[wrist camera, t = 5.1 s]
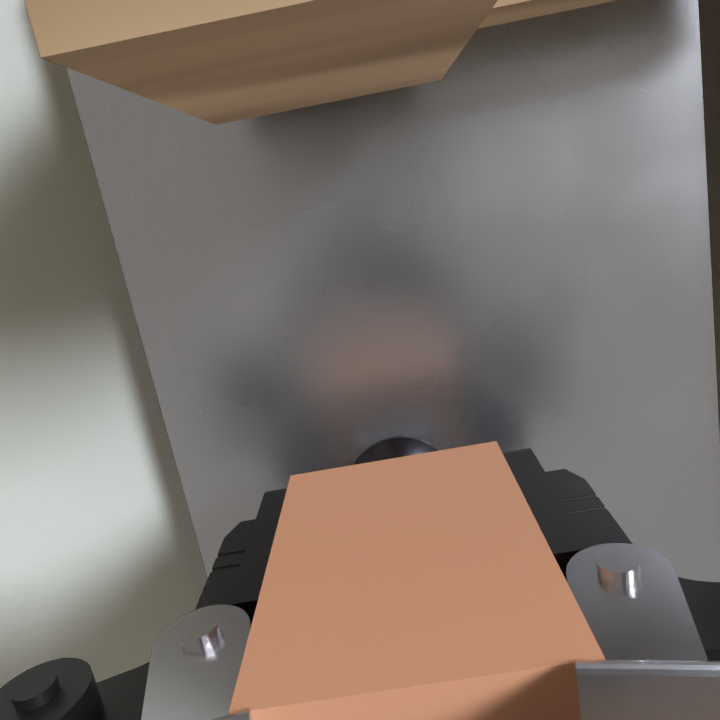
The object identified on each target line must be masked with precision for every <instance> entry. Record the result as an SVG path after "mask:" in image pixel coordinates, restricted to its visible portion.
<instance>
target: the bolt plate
mask: <svg viewBox="0 0 720 720" xmlns="http://www.w3.org/2000/svg"><path fill="white" fill-rule="evenodd" d="M66 70H67V73H68V77H69V81H70V84H71V88H72V91H73V95H74V99H75V102H76V106H77V109H78V113H79V117H80V120H81V124H82V127H83V131H84V135H85V138H86V142H87V145H88V149H89V153H90V156H91V160H92V163H93V167H94V171H95V174H96V178H97V181H98V185H99V189H100V192H101V196H102V199H103V203H104V207H105V210H106V214H107V217H108V221H109V225H110V228H111V232H112V235H113V239H114V243H115V246H116V250H117V253H118V257H119V261H120V264H121V268H122V271H123V275H124V279H125V282H126V286H127V289H128V293H129V297H130V300H131V304H132V307H133V311H134V315H135V318H136V322H137V325H138V329H139V333H140V336H141V340H142V343H143V347H144V351H145V354H146V358H147V361H148V365H149V369H150V372H151V376H152V379H153V383H154V387H155V390H156V394H157V397H158V401H159V405H160V408H161V412H162V415H163V419H164V423H165V426H166V430H167V433H168V437H169V441H170V444H171V448H172V451H173V455H174V459H175V462H176V466H177V469H178V473H179V477H180V480H181V484H182V487H183V491H184V495H185V498H186V502H187V505H188V509H189V513H190V516H191V520H192V523H193V527H194V531H195V534H196V538H197V541H198V545H199V549H200V552H201V556H202V559H203V563H204V567H205V570H206V574H207V577H209V574H210V572H212V567H213V564H214V562H215V559H216V558H218V555H217V554H218V552H219V549H220V547H221V544H222V542H223V539H224V537H225V536H226V535H227V534H228V533H229V532H231V531H232V530H233V529H234V528H235V527H236V526H237V525H238V524H239V523H240V522H241V521H247V520H253V519H256V517H257V514H258V511H259V508H260V504H261V501H262V498H263V495H264V493H265V492H267V491H273V490H279V489H285V488H287V487H288V483H289V479H290V476H291V475H297V474H303V473H309V472H314V471H320V470H326V469H332V468H338V467H344V466H350V465H356V464H362V463H368V462H374V461H380V460H386V459H392V458H398V457H404V456H410V455H416V454H422V453H428V452H434V451H440V450H446V449H452V448H458V447H464V446H470V445H475V444H481V443H487V442H493V441H497V443H498V445H499V447H500V449H501V451H502V452H508V451H514V450H520V449H526V448H531V450H532V451H533V453H534V454H535V456H536V458H537V459H538V461H539V462H540V464H541V466H542V467H543V469H544V471H545V472H547V471H553V470H559V469H566V470H568V471H570V472H572V473H574V474H576V475H578V476H580V477H582V478H584V479H585V480H586V481H587V482H588V484H589V485H590V486H591V488H592V489H593V491H594V492H595V493H596V497H599V499H600V500H601V501H602V503H603V504H604V506H605V509H607V510H608V511H609V512H610V514H611V515H612V516H613V518H614V519H615V520H616V522H617V523H618V525H619V526H620V527H621V529H622V530H623V531H624V533H625V534H626V535H627V537H628V538H629V540H630V541H631V542H632V544H633V545H639V546H642V547H646V548H649V549H651V550H653V551H656V552H657V553H659V554H661V555H663V556H664V557H665V558H666V559H668V560H669V562H670V563H671V564H672V565H673V567H674V569H675V572H676V574H677V576H678V577H681V578H685V579H691V580H696V581H707V582H720V434H719V414H718V394H717V373H716V353H715V333H714V312H713V292H712V272H711V251H710V231H709V211H708V190H707V170H706V150H705V129H704V109H703V88H702V68H701V48H700V27H699V7H698V0H617V1H612V2H607V3H602V4H597V5H592V6H587V7H582V8H578V9H573V10H568V11H563V12H558V13H553V14H548V15H543V16H538V17H533V18H528V19H524V20H519V21H514V22H509V23H504V24H499V25H494V26H489V27H484V28H479V29H477V30H476V32H475V33H474V34H473V36H472V37H471V39H470V40H469V41H468V43H467V44H466V45H465V47H464V48H463V50H462V51H461V52H460V54H459V55H458V57H457V58H456V59H455V61H454V62H453V64H452V65H451V66H450V68H449V69H448V71H447V72H446V73H445V75H444V76H443V78H442V79H441V80H439V81H434V82H429V83H424V84H419V85H414V86H409V87H404V88H399V89H394V90H389V91H384V92H379V93H374V94H369V95H364V96H359V97H354V98H349V99H344V100H339V101H334V102H329V103H324V104H319V105H314V106H309V107H304V108H299V109H294V110H289V111H284V112H279V113H274V114H269V115H264V116H259V117H254V118H249V119H244V120H239V121H234V122H229V123H224V124H219V125H215V124H213V123H210V122H207V121H205V120H202V119H200V118H197V117H194V116H192V115H189V114H187V113H184V112H181V111H179V110H176V109H174V108H171V107H168V106H166V105H163V104H160V103H158V102H155V101H153V100H150V99H147V98H145V97H142V96H140V95H137V94H134V93H132V92H129V91H127V90H124V89H121V88H119V87H116V86H114V85H111V84H108V83H106V82H103V81H101V80H98V79H95V78H93V77H90V76H87V75H85V74H82V73H80V72H77V71H74V70H72V69H69V68H67V67H66Z"/></svg>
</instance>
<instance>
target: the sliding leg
mask: <svg viewBox="0 0 720 720" xmlns="http://www.w3.org/2000/svg"><path fill="white" fill-rule="evenodd" d="M575 660H605V657H604V655H603V653H602V651H601V649H600V647H599V645H598V643H597V641H596V639H595V637H594V635H593V633H592V631H591V629H590V627H589V625H588V623H587V621H586V619H585V617H584V615H583V613H582V611H581V609H580V607H579V605H578V603H577V601H576V599H575V597H574V595H573V593H572V591H571V589H570V587H569V585H568V583H567V581H566V579H565V577H564V575H563V573H562V571H561V569H560V567H559V565H558V563H557V561H556V559H555V557H554V555H553V553H552V551H551V549H550V547H549V545H548V543H547V541H546V539H545V537H544V535H543V533H542V531H541V529H540V527H539V525H538V523H537V521H536V519H535V517H534V515H533V513H532V511H531V509H530V507H529V505H528V503H527V501H526V499H525V497H524V495H523V493H522V491H521V489H520V487H519V485H518V483H517V481H516V479H515V477H514V475H513V473H512V471H511V469H510V467H509V465H508V463H507V461H506V459H505V457H504V455H503V453H502V451H501V449H500V447H499V445H498V443H497V441H493V442H487V443H481V444H475V445H470V446H464V447H458V448H452V449H446V450H440V451H434V452H428V453H422V454H416V455H410V456H404V457H398V458H392V459H386V460H380V461H374V462H368V463H362V464H356V465H350V466H344V467H338V468H332V469H326V470H320V471H314V472H309V473H303V474H297V475H291V476H290V479H289V483H288V487H287V491H286V495H285V498H284V502H283V506H282V510H281V514H280V518H279V521H278V525H277V529H276V533H275V537H274V541H273V544H272V548H271V552H270V556H269V560H268V564H267V567H266V571H265V575H264V579H263V583H262V587H261V590H260V594H259V598H258V602H257V606H256V610H255V613H254V617H253V621H252V625H251V629H250V633H249V636H248V640H247V644H246V648H245V652H244V655H243V659H242V663H241V667H240V671H239V675H238V678H237V682H236V686H235V690H234V694H233V698H232V701H231V705H230V709H229V713H228V714H232V713H235V712H239V711H242V710H245V709H248V708H250V711H251V715H252V718H253V720H581V713H580V703H579V694H578V684H577V675H576V665H575Z"/></svg>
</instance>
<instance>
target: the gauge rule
mask: <svg viewBox="0 0 720 720" xmlns="http://www.w3.org/2000/svg"><path fill="white" fill-rule="evenodd" d="M24 1H25V4H26V8H27V11H28V15H29V18H30V22H31V25H32V29H33V32H34V36H35V39H36V43H37V46H38V50H39V53H40V57H41V58H43V59H46V60H48V61H51V62H54V63H56V64H59V65H61V66H64V67H67V68H69V69H72V70H74V71H77V72H80V73H82V74H85V75H87V76H90V77H93V78H95V79H98V80H101V81H103V82H106V83H108V84H111V85H114V86H116V87H119V88H121V89H124V90H127V91H129V92H132V93H134V94H137V95H140V96H142V97H145V98H147V99H150V100H153V101H155V102H158V103H160V104H163V105H166V106H168V107H171V108H174V109H176V110H179V111H181V112H184V113H187V114H189V115H192V116H194V117H197V118H200V119H202V120H205V121H207V122H210V123H213V124H215V125H219V124H224V123H229V122H234V121H239V120H244V119H249V118H254V117H259V116H264V115H269V114H274V113H279V112H284V111H289V110H294V109H299V108H304V107H309V106H314V105H319V104H324V103H329V102H334V101H339V100H344V99H349V98H354V97H359V96H364V95H369V94H374V93H379V92H384V91H389V90H394V89H399V88H404V87H409V86H414V85H419V84H424V83H429V82H434V81H439V80H441V79H442V78H443V76H444V75H445V73H446V72H447V71H448V69H449V68H450V66H451V65H452V64H453V62H454V61H455V59H456V58H457V57H458V55H459V54H460V52H461V51H462V50H463V48H464V47H465V45H466V44H467V43H468V41H469V40H470V39H471V37H472V36H473V34H474V33H475V32H476V30H477V29H479V28H484V27H489V26H494V25H499V24H504V23H509V22H514V21H519V20H524V19H528V18H533V17H538V16H543V15H548V14H553V13H558V12H563V11H568V10H573V9H578V8H582V7H587V6H592V5H597V4H602V3H607V2H612V1H617V0H24Z"/></svg>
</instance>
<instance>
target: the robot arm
mask: <svg viewBox="0 0 720 720" xmlns="http://www.w3.org/2000/svg"><path fill="white" fill-rule="evenodd" d="M502 453H503V455H504V457H505V459H506V461H507V463H508V465H509V467H510V469H511V471H512V473H513V475H514V477H515V479H516V481H517V483H518V485H519V487H520V489H521V491H522V493H523V495H524V497H525V499H526V501H527V503H528V505H529V507H530V509H531V511H532V513H533V515H534V517H535V519H536V521H537V523H538V525H539V527H540V529H541V531H542V533H543V535H544V537H545V539H546V541H547V543H548V545H549V547H550V549H551V551H552V553H553V555H554V557H555V559H556V561H557V563H558V565H559V567H560V569H561V571H562V573H563V575H564V577H565V579H566V581H567V583H568V585H569V587H570V589H571V591H572V593H573V595H574V597H575V599H576V601H577V603H578V605H579V607H580V609H581V611H582V613H583V615H584V617H585V619H586V621H587V623H588V625H589V627H590V629H591V631H592V633H593V635H594V637H595V639H596V641H597V643H598V645H599V647H600V649H601V651H602V653H603V655H604V657H605V660H575V665H576V675H577V684H578V694H579V703H580V713H581V720H720V582H707V581H696V580H691V579H685V578H681V577H678V576H677V574H676V572H675V569H674V567H673V565H672V564H671V563H670V562H669V560H668V559H666V558H665V557H664V556H663V555H661V554H659V553H657V552H656V551H653V550H651V549H649V548H646V547H642V546H639V545H633V544H632V542H631V541H630V540H629V538H628V537H627V535H626V534H625V533H624V531H623V530H622V529H621V527H620V526H619V525H618V523H617V522H616V520H615V519H614V518H613V516H612V515H611V514H610V512H609V511H608V510H607V509H605V506H604V504H603V503H602V501H601V500H600V499H599V497H596V493H595V492H594V491H593V489H592V488H591V486H590V485H589V484H588V482H587V481H586V480H585V479H584V478H582V477H580V476H578V475H576V474H574V473H572V472H570V471H568V470H566V469H559V470H553V471H547V472H545V471H544V469H543V467H542V466H541V464H540V462H539V461H538V459H537V458H536V456H535V454H534V453H533V451H532V450H531V448H526V449H520V450H514V451H508V452H502ZM286 491H287V488H285V489H279V490H273V491H267V492H265V493H264V495H263V498H262V501H261V504H260V508H259V511H258V514H257V517H256V519H253V520H247V521H241V522H240V523H239V524H238V525H237V526H236V527H235V528H234V529H233V530H232V531H231V532H229V533H228V534H227V535H226V536H225V537H224V539H223V542H222V544H221V547H220V549H219V552H218V554H217V555H218V558H216V559H215V562H214V564H213V567H212V572H210V574H209V577H208V579H207V582H206V584H205V587H204V589H203V592H202V594H201V597H200V599H199V602H198V604H197V607H196V609H195V610H194V611H191V612H189V613H187V614H185V615H183V616H181V617H179V618H178V619H176V620H175V621H173V622H172V623H171V624H169V625H168V626H167V627H166V628H165V629H164V630H163V631H162V632H161V633H160V634H159V635H158V637H157V638H156V640H155V642H154V644H153V646H152V650H151V656H150V662H148V663H146V664H145V665H142V666H140V667H138V668H135V669H133V670H130V671H127V672H125V673H122V674H119V675H117V676H114V677H111V678H108V679H106V680H103V681H100V682H98V683H96V681H95V678H94V676H93V673H92V670H91V667H90V665H89V664H88V663H87V662H85V661H83V660H81V659H77V658H61V659H56V660H52V661H49V662H45V663H43V664H40V665H37V666H35V667H33V668H31V669H29V670H27V671H25V672H23V673H22V674H20V675H18V676H16V677H15V678H14V679H12V680H11V681H9V682H8V683H7V684H5V685H4V686H3V687H2V688H0V720H253V718H252V715H251V711H250V708H248V709H245V710H242V711H239V712H235V713H232V714H228V713H229V709H230V705H231V701H232V698H233V694H234V690H235V686H236V682H237V678H238V675H239V671H240V667H241V663H242V659H243V655H244V652H245V648H246V644H247V640H248V636H249V633H250V629H251V625H252V621H253V617H254V613H255V610H256V606H257V602H258V598H259V594H260V590H261V587H262V583H263V579H264V575H265V571H266V567H267V564H268V560H269V556H270V552H271V548H272V544H273V541H274V537H275V533H276V529H277V525H278V521H279V518H280V514H281V510H282V506H283V502H284V498H285V495H286Z"/></svg>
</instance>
